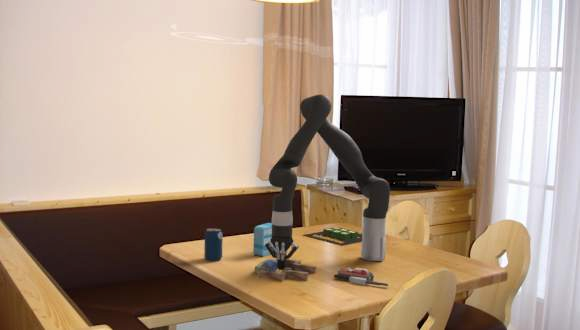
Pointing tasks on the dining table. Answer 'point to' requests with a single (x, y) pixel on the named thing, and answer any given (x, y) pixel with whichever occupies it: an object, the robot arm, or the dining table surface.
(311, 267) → the trap channel
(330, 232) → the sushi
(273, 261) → the decorative dice
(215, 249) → the soda can
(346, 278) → the walkie-talkie
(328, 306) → the dining table surface
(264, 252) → the light blue box
